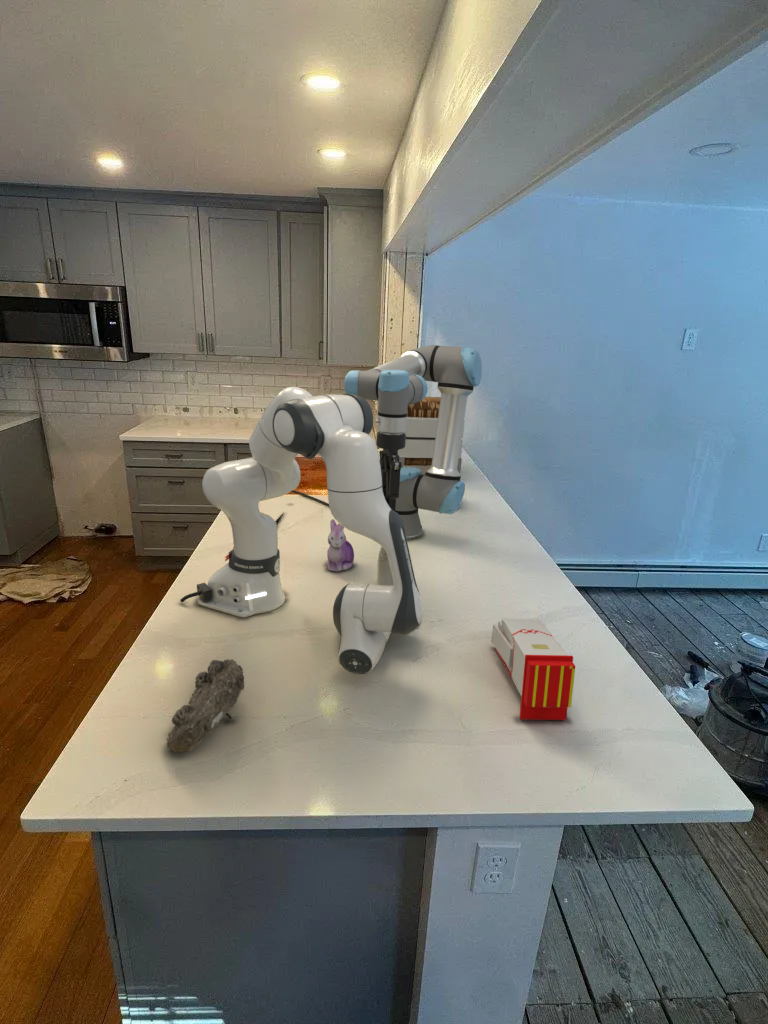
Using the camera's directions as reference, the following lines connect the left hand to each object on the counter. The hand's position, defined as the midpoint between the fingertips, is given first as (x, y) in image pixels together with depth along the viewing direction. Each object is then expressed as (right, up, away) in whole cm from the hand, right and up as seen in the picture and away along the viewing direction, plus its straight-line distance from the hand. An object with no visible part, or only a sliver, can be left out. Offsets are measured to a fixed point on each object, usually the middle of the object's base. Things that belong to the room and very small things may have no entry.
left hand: (386, 596), depth 143 cm
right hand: (0, +20, +10) cm, 22 cm away
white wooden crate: (+17, +40, +132) cm, 139 cm away
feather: (-39, +20, +68) cm, 81 cm away
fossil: (-33, -18, -35) cm, 51 cm away
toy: (+30, -15, -19) cm, 39 cm away
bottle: (0, -6, +1) cm, 6 cm away
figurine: (-14, +5, +30) cm, 34 cm away
